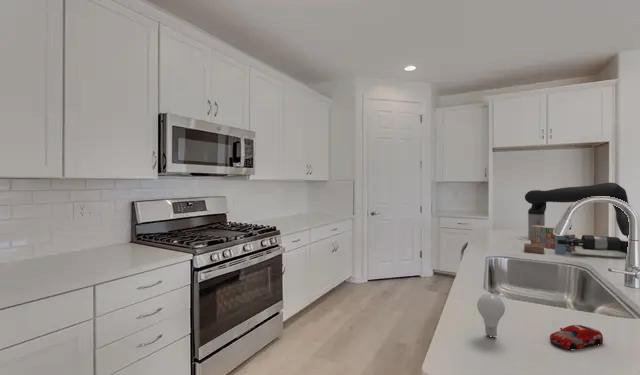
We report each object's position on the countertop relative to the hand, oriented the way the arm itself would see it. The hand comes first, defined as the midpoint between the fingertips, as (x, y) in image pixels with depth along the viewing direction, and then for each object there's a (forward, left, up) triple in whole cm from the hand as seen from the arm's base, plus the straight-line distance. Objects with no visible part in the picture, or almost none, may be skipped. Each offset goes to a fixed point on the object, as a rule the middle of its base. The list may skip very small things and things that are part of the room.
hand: (556, 240), depth 177 cm
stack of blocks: (-17, 0, -7) cm, 18 cm away
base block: (0, -10, -7) cm, 13 cm away
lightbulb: (+121, -32, -7) cm, 125 cm away
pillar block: (0, +2, -7) cm, 7 cm away
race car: (+115, -14, -8) cm, 117 cm away
